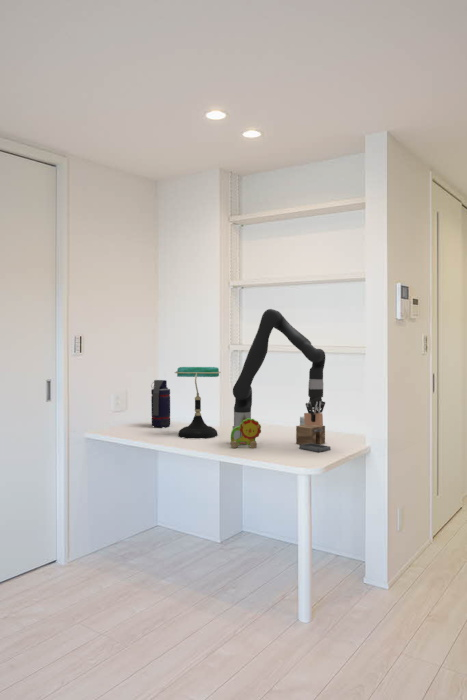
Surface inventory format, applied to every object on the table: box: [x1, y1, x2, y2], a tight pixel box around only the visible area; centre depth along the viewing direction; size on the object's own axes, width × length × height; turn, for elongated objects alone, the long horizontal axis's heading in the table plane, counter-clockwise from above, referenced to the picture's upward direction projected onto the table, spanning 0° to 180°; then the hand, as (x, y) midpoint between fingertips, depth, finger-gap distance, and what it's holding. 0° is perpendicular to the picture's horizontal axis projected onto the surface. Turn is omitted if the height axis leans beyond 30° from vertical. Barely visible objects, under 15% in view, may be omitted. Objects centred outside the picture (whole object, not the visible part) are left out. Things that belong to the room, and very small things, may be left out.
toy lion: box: [230, 418, 262, 449], centre depth 299 cm, size 16×5×15 cm, turn 90°
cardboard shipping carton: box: [295, 424, 326, 445], centre depth 309 cm, size 12×10×10 cm
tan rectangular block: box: [303, 412, 324, 426], centre depth 294 cm, size 2×10×6 cm, turn 43°
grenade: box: [150, 379, 171, 428], centre depth 367 cm, size 14×12×30 cm
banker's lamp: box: [174, 366, 221, 439], centre depth 335 cm, size 26×23×40 cm
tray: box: [298, 443, 331, 453], centre depth 293 cm, size 9×13×2 cm
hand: (315, 421), depth 294 cm, fingers closed on tan rectangular block, 2 cm apart
